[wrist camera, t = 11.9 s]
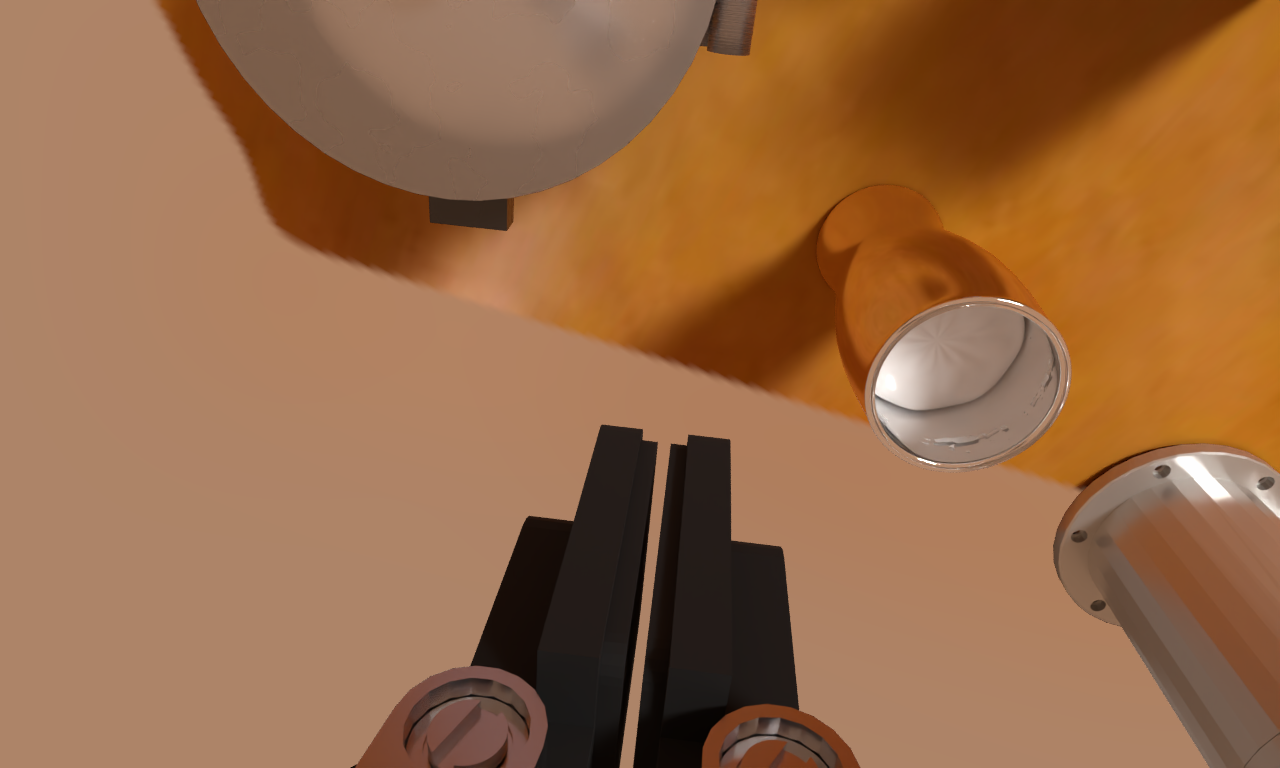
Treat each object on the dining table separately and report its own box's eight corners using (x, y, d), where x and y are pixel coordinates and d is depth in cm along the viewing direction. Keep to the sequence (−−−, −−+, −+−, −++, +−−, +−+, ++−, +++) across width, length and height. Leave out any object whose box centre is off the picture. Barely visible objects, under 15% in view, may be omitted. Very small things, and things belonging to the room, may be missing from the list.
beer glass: (885, 335, 42) (970, 510, 29) (777, 263, 41) (815, 412, 27) (983, 227, 39) (1127, 367, 26) (870, 144, 38) (963, 247, 24)
